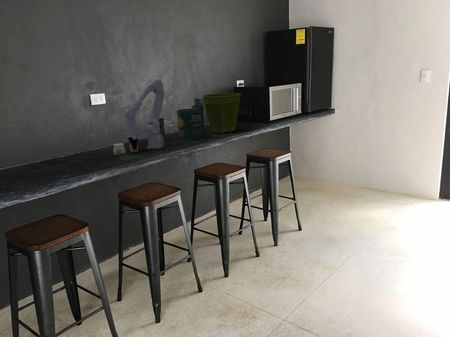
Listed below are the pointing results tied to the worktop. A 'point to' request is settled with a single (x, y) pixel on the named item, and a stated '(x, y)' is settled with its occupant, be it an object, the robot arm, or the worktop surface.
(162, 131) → the coffee box
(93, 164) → the worktop surface
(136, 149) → the terracotta cube
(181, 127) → the donation box
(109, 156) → the worktop surface
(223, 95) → the plant pot
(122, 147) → the tower top
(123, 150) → the tower base
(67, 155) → the worktop surface
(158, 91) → the robot arm
